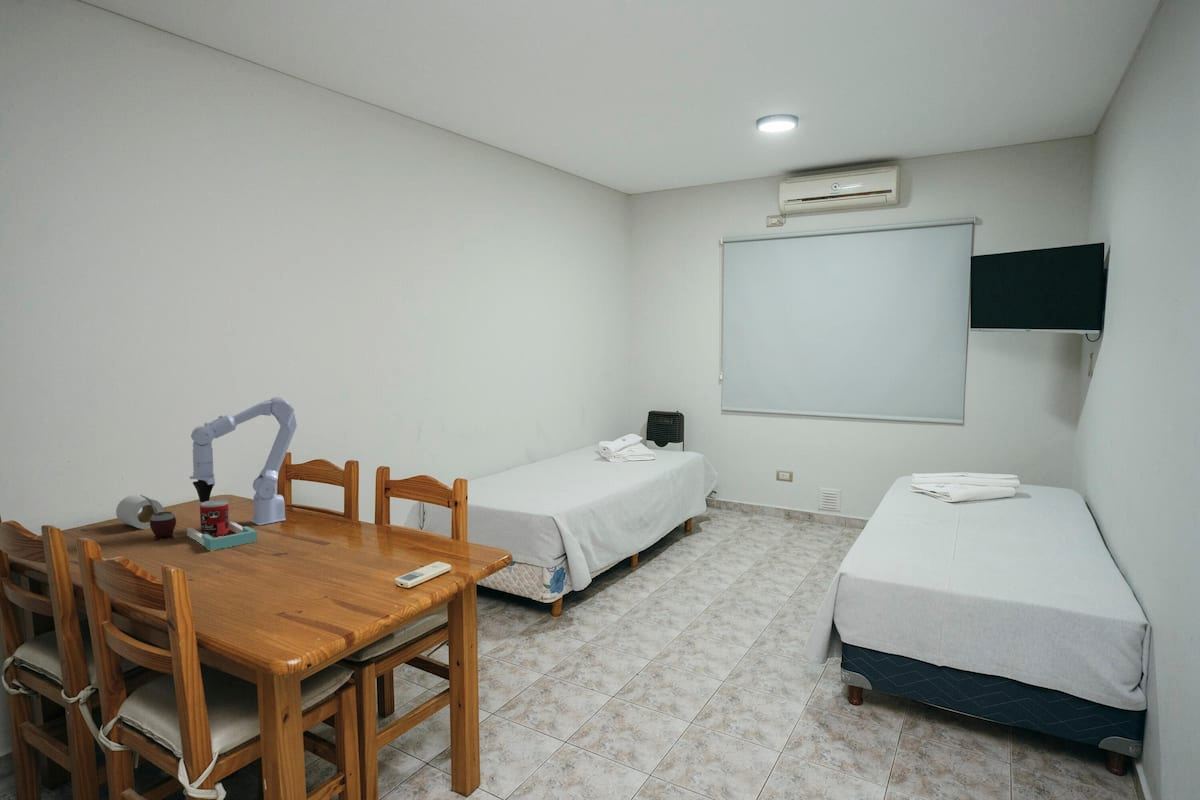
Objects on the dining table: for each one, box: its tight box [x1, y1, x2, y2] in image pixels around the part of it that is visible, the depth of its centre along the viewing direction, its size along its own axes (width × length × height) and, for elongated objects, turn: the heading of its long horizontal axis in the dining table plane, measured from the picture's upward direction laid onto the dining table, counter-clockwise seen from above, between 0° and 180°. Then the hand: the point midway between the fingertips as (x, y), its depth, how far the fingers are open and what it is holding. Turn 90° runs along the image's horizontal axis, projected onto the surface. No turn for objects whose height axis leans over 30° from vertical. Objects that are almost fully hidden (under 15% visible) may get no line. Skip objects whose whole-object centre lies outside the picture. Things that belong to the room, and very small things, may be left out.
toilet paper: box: [115, 494, 164, 530], centre depth 227 cm, size 10×10×10 cm
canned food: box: [199, 499, 230, 537], centre depth 219 cm, size 8×8×11 cm
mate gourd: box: [139, 494, 177, 542], centre depth 214 cm, size 8×8×15 cm
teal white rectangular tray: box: [186, 520, 258, 550], centre depth 215 cm, size 14×22×4 cm, turn 48°
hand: (204, 502), depth 224 cm, fingers closed
